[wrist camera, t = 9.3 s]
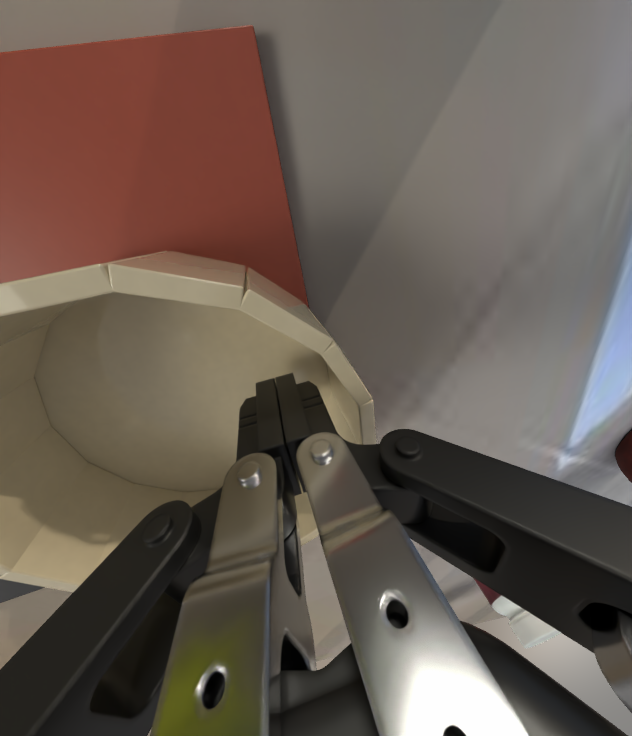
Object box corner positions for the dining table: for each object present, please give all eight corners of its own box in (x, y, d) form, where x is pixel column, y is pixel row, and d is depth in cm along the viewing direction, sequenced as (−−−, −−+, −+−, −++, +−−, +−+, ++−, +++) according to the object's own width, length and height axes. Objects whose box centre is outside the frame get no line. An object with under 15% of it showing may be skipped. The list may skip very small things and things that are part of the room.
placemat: (-86, 625, 14) (-95, 635, 14) (-1471, 232, 4) (-1644, 232, 3) (342, 480, 17) (344, 485, 16) (252, 34, 7) (253, 23, 6)
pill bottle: (467, 502, 23) (566, 623, 16) (492, 509, 25) (588, 618, 18) (433, 532, 24) (510, 655, 17) (459, 536, 26) (536, 647, 19)
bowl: (142, 514, 13) (98, 627, 9) (-77, 299, 7) (-451, 374, 3) (347, 448, 15) (381, 523, 11) (312, 221, 9) (362, 210, 5)
